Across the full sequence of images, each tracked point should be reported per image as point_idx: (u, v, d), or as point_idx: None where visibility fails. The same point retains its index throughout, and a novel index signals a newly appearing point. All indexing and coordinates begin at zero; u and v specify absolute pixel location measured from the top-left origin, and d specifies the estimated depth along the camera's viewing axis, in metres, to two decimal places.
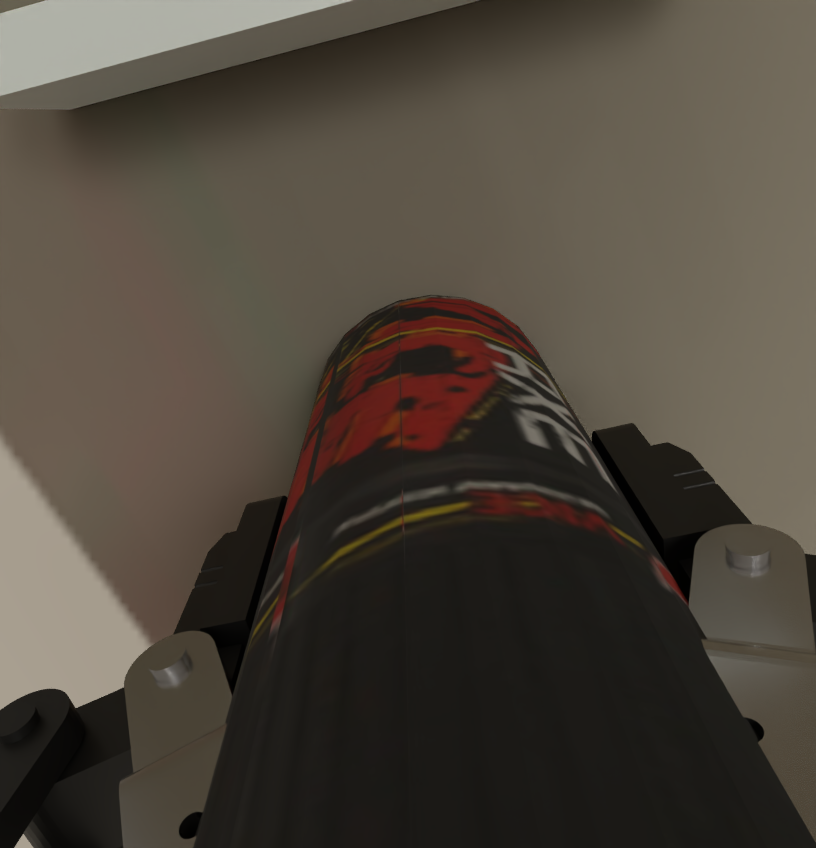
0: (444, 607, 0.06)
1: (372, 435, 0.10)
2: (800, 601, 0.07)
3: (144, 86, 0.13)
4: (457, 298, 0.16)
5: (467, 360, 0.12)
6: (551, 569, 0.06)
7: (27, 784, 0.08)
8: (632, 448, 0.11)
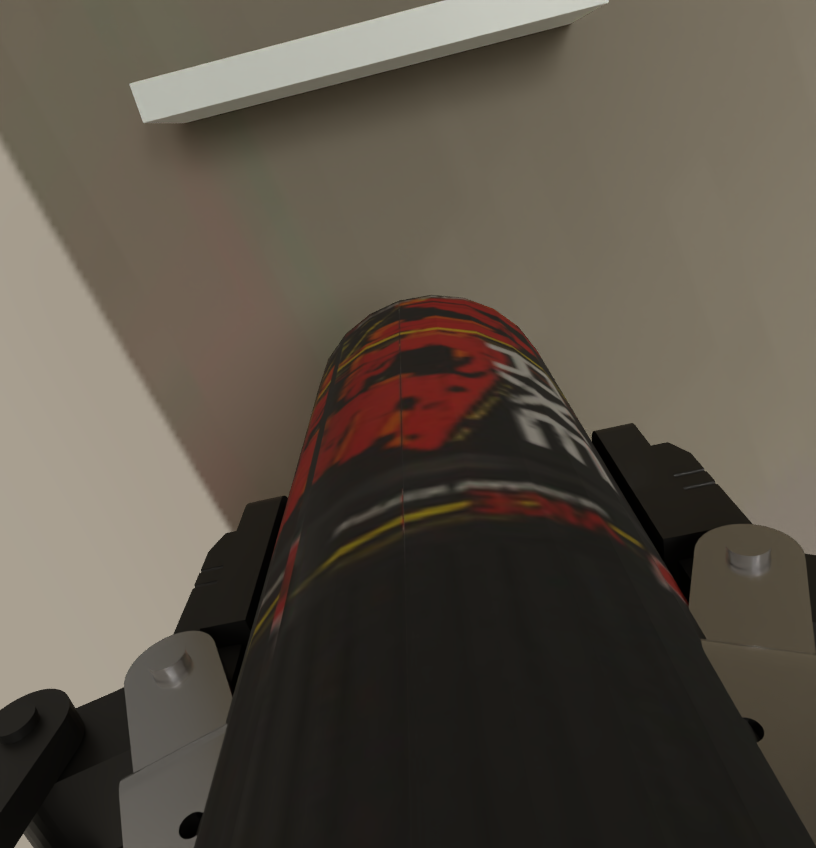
0: (444, 606, 0.06)
1: (373, 435, 0.10)
2: (800, 601, 0.07)
3: (234, 109, 0.22)
4: (457, 298, 0.16)
5: (467, 359, 0.12)
6: (549, 567, 0.06)
7: (27, 785, 0.08)
8: (632, 448, 0.11)
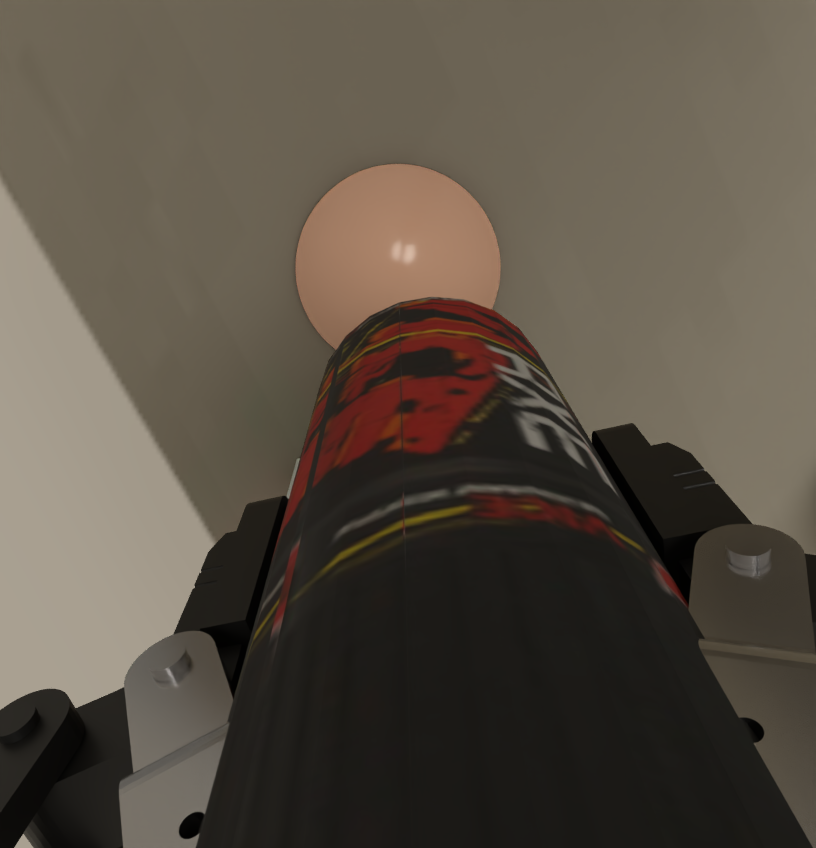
0: (445, 611, 0.06)
1: (373, 438, 0.10)
2: (800, 601, 0.07)
3: None
4: (458, 300, 0.16)
5: (467, 362, 0.12)
6: (552, 572, 0.06)
7: (27, 785, 0.08)
8: (632, 448, 0.11)
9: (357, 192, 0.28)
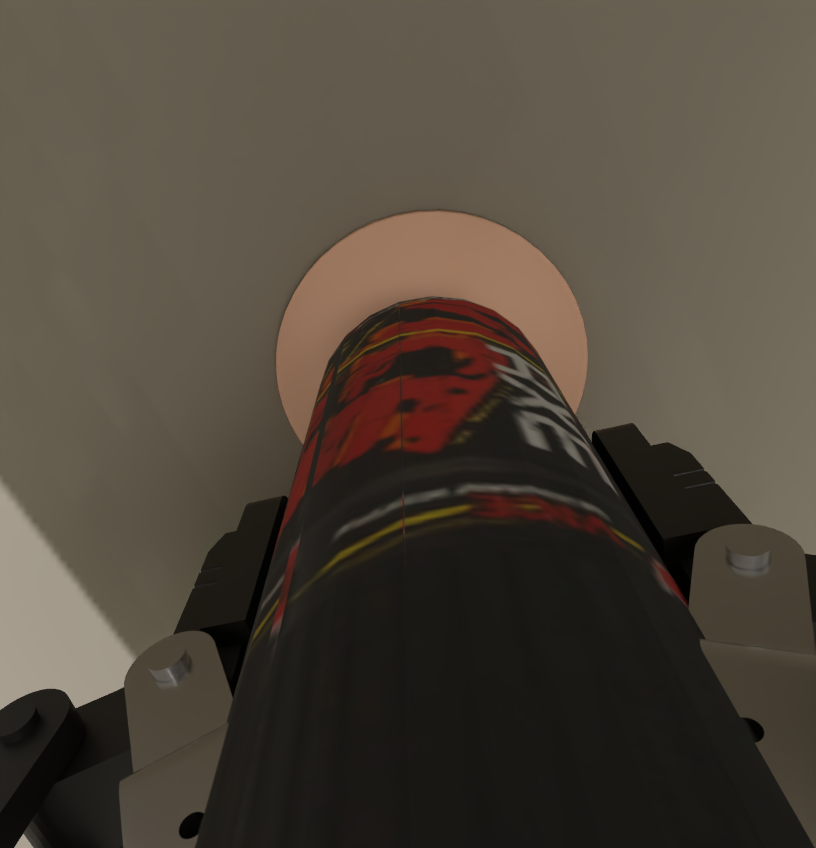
0: (445, 611, 0.06)
1: (373, 438, 0.10)
2: (800, 601, 0.07)
3: None
4: (457, 299, 0.16)
5: (467, 361, 0.12)
6: (551, 572, 0.06)
7: (27, 785, 0.08)
8: (632, 448, 0.11)
9: (368, 256, 0.18)
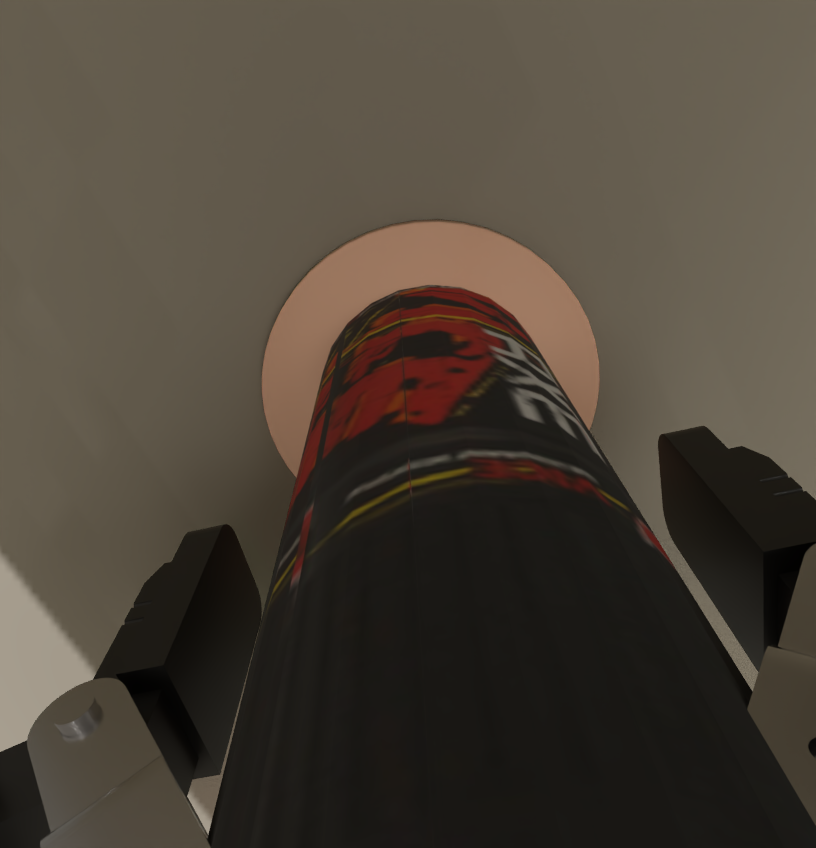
0: (450, 555, 0.07)
1: (378, 413, 0.10)
2: None
3: None
4: (455, 287, 0.16)
5: (465, 344, 0.12)
6: (544, 523, 0.07)
7: None
8: (709, 452, 0.10)
9: (362, 270, 0.16)
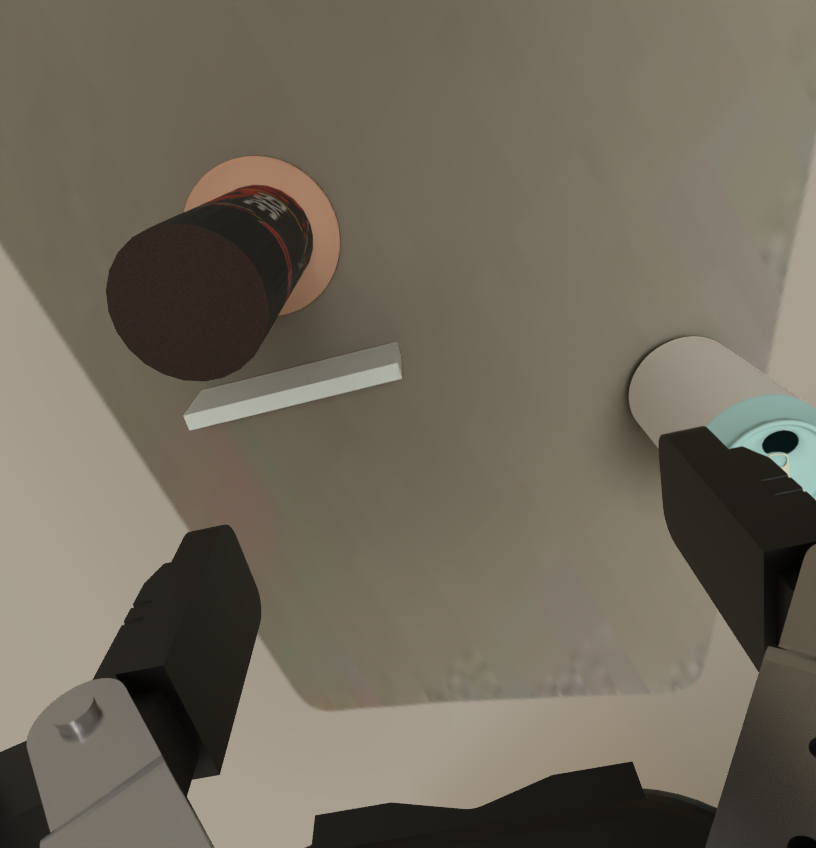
0: (192, 210, 0.27)
1: None
2: None
3: None
4: (264, 185, 0.37)
5: (244, 193, 0.33)
6: (221, 208, 0.27)
7: None
8: (709, 452, 0.10)
9: (222, 178, 0.37)
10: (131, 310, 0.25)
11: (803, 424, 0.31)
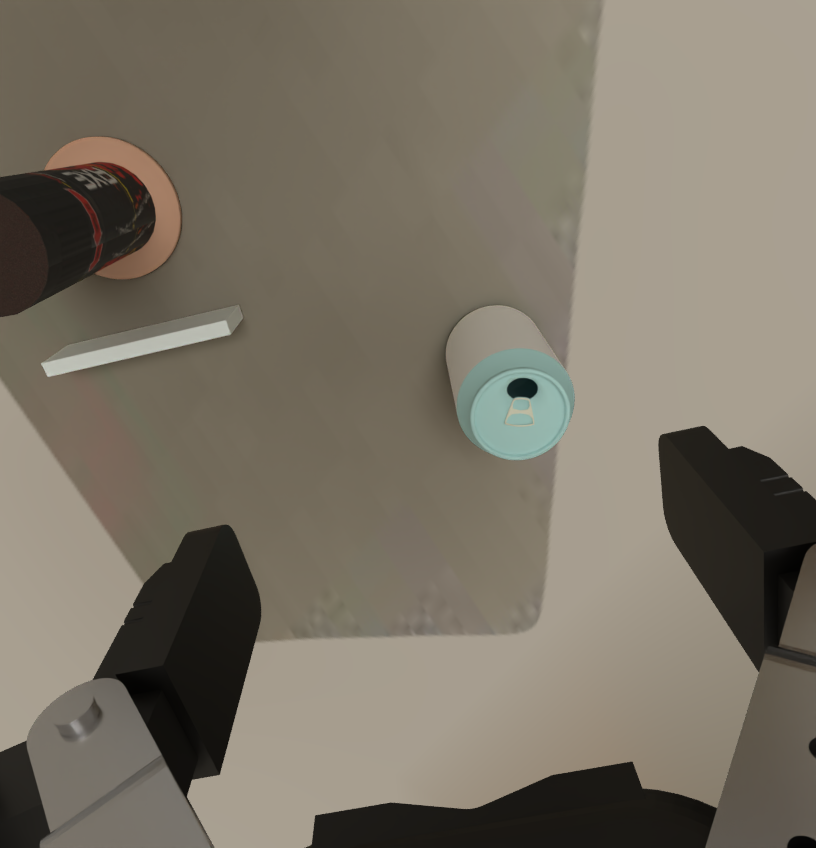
0: None
1: None
2: None
3: None
4: None
5: (75, 167, 0.38)
6: (28, 176, 0.33)
7: None
8: (709, 453, 0.10)
9: (72, 155, 0.42)
10: None
11: (538, 372, 0.37)
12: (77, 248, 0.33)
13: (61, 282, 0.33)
